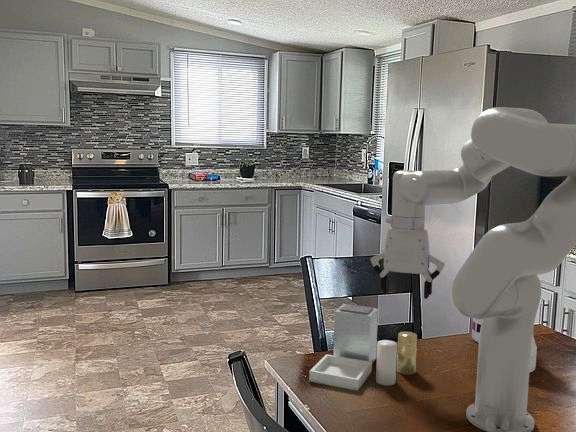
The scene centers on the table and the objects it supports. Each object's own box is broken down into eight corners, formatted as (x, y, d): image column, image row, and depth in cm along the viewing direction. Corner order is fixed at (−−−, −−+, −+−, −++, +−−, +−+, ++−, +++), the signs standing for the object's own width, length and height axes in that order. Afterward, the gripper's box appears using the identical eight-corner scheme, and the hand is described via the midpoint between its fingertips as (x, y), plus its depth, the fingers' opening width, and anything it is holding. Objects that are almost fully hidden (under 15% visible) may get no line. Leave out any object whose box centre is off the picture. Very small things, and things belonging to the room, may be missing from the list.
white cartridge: (392, 386, 129) (394, 348, 127) (373, 383, 130) (375, 344, 129) (397, 379, 133) (399, 341, 132) (378, 376, 134) (380, 338, 133)
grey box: (368, 368, 139) (370, 314, 137) (333, 362, 142) (334, 309, 140) (376, 358, 145) (378, 306, 144) (342, 352, 149) (344, 302, 147)
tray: (357, 390, 126) (358, 379, 126) (309, 381, 131) (309, 370, 130) (371, 372, 137) (371, 362, 136) (326, 364, 141) (326, 354, 141)
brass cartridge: (413, 376, 135) (415, 338, 134) (394, 372, 137) (396, 336, 135) (417, 369, 139) (418, 333, 138) (398, 366, 141) (400, 330, 139)
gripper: (367, 223, 134) (366, 295, 136) (443, 227, 128) (440, 303, 130) (375, 219, 141) (374, 288, 143) (448, 223, 134) (445, 295, 136)
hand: (405, 295), depth 136 cm, fingers open, 9 cm apart
